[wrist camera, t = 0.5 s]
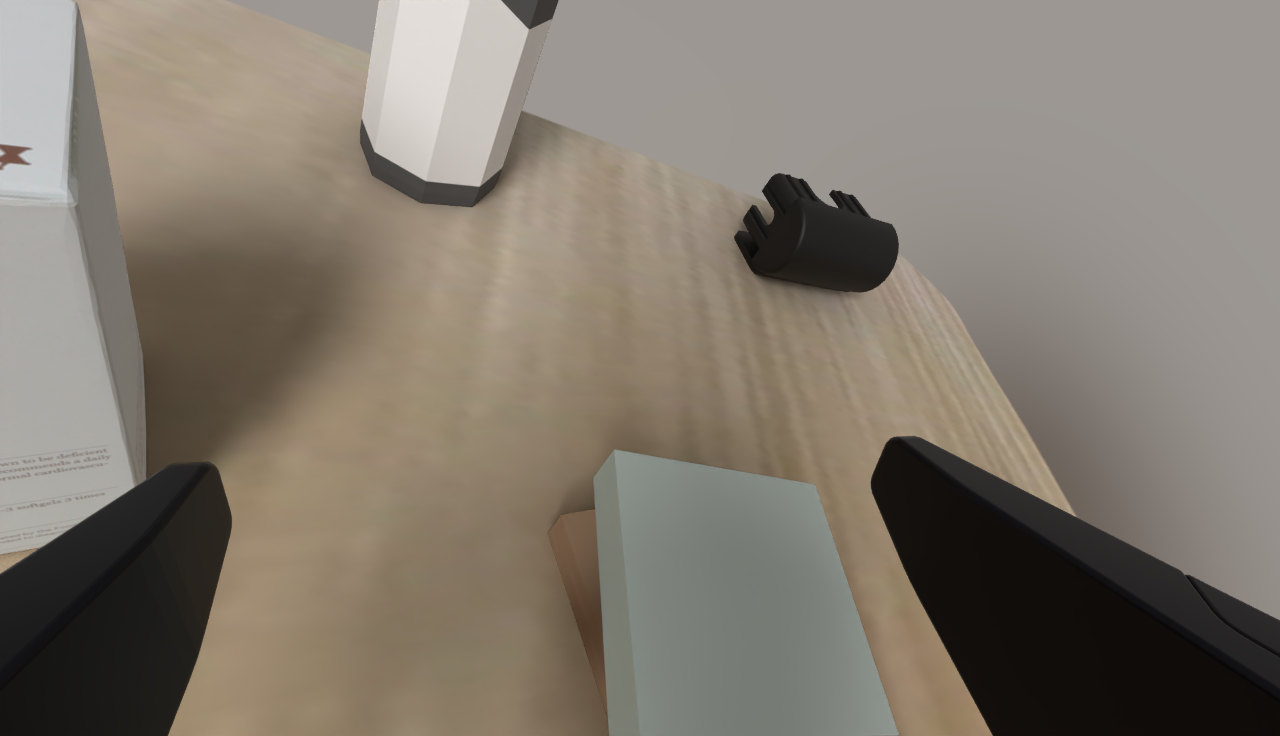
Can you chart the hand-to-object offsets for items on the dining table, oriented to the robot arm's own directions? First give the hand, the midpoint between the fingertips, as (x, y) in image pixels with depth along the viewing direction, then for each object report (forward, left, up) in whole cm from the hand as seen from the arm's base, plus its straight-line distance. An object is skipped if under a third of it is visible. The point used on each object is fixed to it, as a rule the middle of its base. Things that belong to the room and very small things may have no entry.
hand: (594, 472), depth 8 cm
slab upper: (+3, -12, -14) cm, 18 cm away
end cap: (+28, -29, -16) cm, 44 cm away
